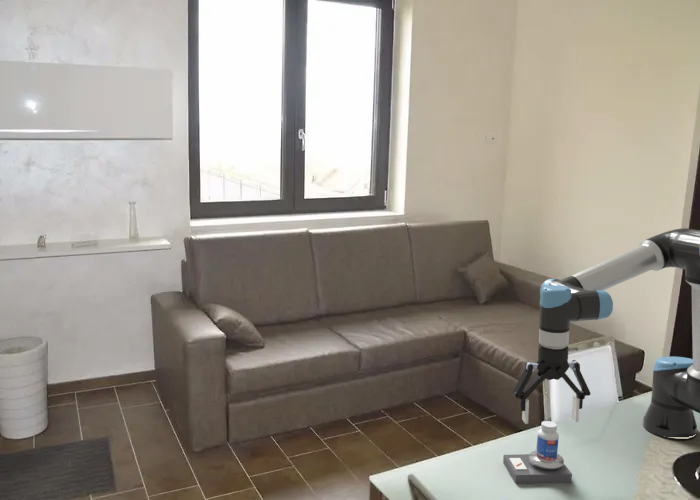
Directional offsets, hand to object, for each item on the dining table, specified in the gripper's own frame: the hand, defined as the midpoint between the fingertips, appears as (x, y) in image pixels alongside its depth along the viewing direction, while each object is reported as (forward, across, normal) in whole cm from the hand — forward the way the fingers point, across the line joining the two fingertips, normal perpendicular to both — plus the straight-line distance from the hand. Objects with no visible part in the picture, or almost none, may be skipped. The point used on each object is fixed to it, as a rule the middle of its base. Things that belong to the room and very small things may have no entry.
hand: (550, 420), depth 170 cm
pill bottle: (+11, +1, 0) cm, 11 cm away
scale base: (+15, +3, 0) cm, 15 cm away
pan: (+12, +1, 0) cm, 12 cm away
